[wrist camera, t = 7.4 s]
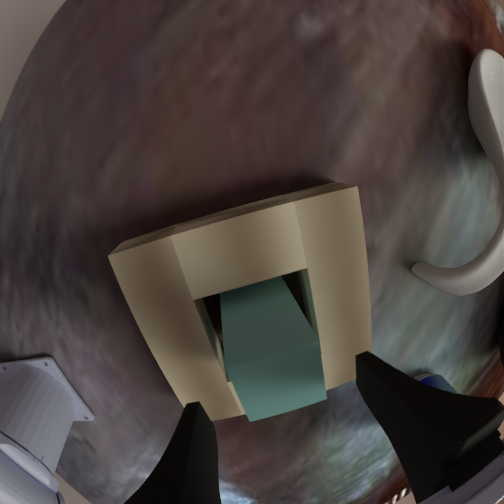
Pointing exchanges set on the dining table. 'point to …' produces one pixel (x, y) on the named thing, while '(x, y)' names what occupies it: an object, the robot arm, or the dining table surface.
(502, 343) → the glass bottle
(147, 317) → the board
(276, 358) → the teal block
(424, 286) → the dining table surface
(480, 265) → the spoon rest
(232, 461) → the dining table surface
